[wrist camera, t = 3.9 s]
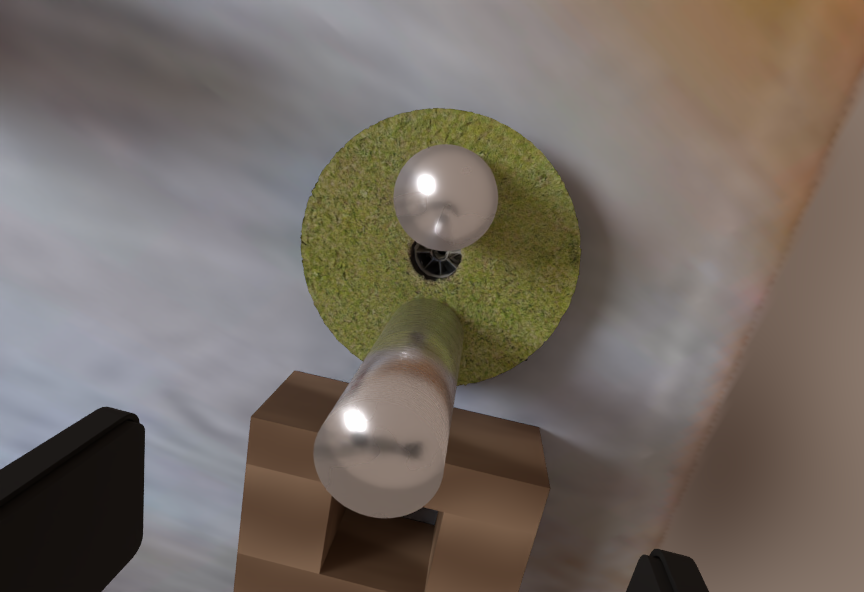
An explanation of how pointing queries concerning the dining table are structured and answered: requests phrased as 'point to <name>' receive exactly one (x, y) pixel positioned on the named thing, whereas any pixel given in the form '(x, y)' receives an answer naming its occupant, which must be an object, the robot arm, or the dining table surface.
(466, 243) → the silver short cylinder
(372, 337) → the mat
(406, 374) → the long pin
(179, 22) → the dining table surface
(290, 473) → the hole block
